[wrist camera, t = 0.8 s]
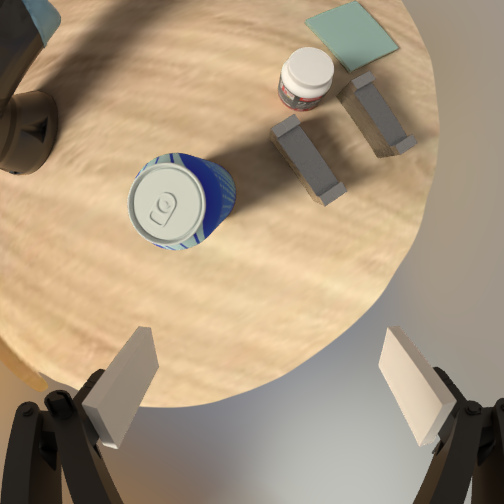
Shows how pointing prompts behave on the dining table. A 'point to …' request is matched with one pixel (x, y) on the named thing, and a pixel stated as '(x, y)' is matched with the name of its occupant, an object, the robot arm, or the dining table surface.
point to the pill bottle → (305, 78)
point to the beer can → (180, 200)
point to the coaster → (351, 35)
